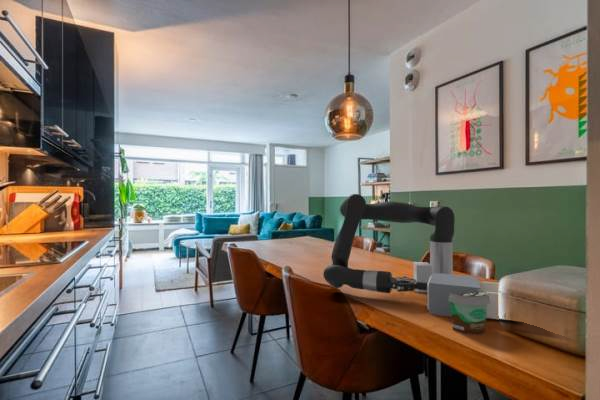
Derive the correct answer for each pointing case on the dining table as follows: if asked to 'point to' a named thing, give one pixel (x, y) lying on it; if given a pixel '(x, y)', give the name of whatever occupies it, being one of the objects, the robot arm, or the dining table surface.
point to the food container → (469, 312)
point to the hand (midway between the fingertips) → (429, 286)
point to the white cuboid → (493, 296)
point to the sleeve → (448, 290)
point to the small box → (422, 273)
